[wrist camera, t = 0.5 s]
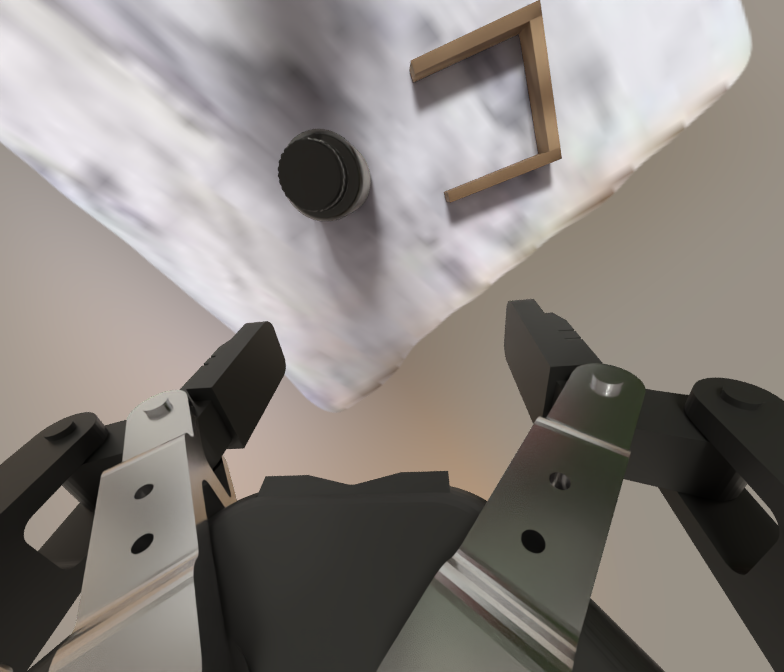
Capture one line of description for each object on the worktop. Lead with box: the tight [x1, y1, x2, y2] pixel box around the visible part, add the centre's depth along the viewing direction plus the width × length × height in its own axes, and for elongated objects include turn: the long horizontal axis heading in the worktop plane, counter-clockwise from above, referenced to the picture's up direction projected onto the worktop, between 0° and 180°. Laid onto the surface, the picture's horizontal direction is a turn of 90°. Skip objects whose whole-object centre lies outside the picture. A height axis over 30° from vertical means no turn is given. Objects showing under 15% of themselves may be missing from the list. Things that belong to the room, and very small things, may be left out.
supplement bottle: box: [278, 129, 371, 221], centre depth 28 cm, size 7×7×12 cm
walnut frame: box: [410, 0, 562, 203], centre depth 30 cm, size 12×11×2 cm
